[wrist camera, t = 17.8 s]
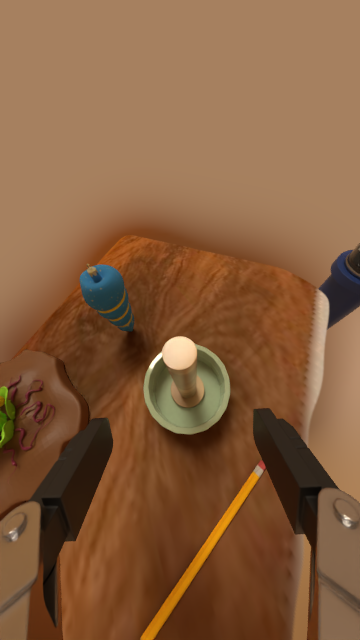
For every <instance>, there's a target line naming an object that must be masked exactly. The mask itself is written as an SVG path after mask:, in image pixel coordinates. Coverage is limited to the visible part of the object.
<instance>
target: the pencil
mask: <svg viewBox="0 0 360 640" xmlns="http://www.w3.org/2000/svg"><path fill="white" fill-rule="evenodd" d="M265 469H266V467H265V464H264V462H263V461H262V460H261V461H260V462H259V463H258V465H257V466H256V468H255V469H254V471H253V472H252V474H251V475H250V477H249V478H248V480H247V481H246V483H245V484H244V486H243V487H242V489H241V490H240V492H239V493H238V494H237V496H236V497H235V499H234V500H233V502H232V503H231V505H230V506H229V508H228V509H227V511H226V512H225V514H224V515H223V517H222V518H221V520H220V521H219V523H218V524H217V525H216V527H215V528H214V530H213V531H212V533H211V534H210V536H209V537H208V539H207V540H206V542H205V543H204V545H203V546H202V548H201V549H200V551H199V552H198V554H197V555H196V557H195V558H194V559H193V561H192V562H191V564H190V565H189V567H188V568H187V570H186V571H185V573H184V574H183V576H182V577H181V579H180V580H179V582H178V583H177V585H176V586H175V588H174V589H173V590H172V592H171V593H170V595H169V596H168V598H167V599H166V601H165V602H164V604H163V605H162V607H161V608H160V610H159V611H158V613H157V614H156V616H155V617H154V619H153V620H152V621H151V623H150V624H149V626H148V627H147V629H146V630H145V632H144V633H143V635H142V636H141V638H140V640H154V638H155V637H156V635H157V634H158V632H159V630H160V629H161V627H162V626H163V624H164V623H165V621H166V620H167V618H168V617H169V615H170V614H171V612H172V611H173V609H174V608H175V606H176V605H177V603H178V601H179V600H180V598H181V597H182V595H183V594H184V592H185V591H186V589H187V588H188V586H189V585H190V583H191V582H192V580H193V579H194V577H195V576H196V574H197V573H198V571H199V569H200V568H201V566H202V565H203V563H204V562H205V560H206V559H207V557H208V556H209V554H210V553H211V551H212V550H213V548H214V547H215V545H216V544H217V542H218V540H219V539H220V537H221V536H222V534H223V533H224V531H225V530H226V528H227V527H228V525H229V524H230V522H231V521H232V519H233V518H234V516H235V515H236V513H237V512H238V510H239V508H240V507H241V505H242V504H243V502H244V501H245V499H246V498H247V496H248V495H249V493H250V492H251V490H252V489H253V487H254V486H255V484H256V483H257V481H258V479H259V478H260V476H261V475H262V473H263V472H264V470H265Z"/></svg>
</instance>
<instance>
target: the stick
mask: <svg viewBox="0 0 360 640" xmlns="http://www.w3.org/2000/svg"><path fill="white" fill-rule="evenodd" d="M162 358H163V361H164V363H165V365H166V367H167V369H168V371H169V373H170V375H171V377H172V379H173V382H172V384H171V395H172V398H173V400H174V401H175V402H176V403H177V404H178V405H179V406H181V407H183V408H193V407H195V406H197V405H198V404H199V403H200V402H201V400H202V398H203V396H204V384H203V382H202V380H201V379H200V377H199V376H198V375H197V348H196V346H195V344H194V343H193V342H192V341H191V340H190V339H188V338H186V337H181V336H179V337H174V338H172V339H170V340H169V341H167V342H166V344H165V345H164V347H163V349H162Z"/></svg>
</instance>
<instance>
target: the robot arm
mask: <svg viewBox="0 0 360 640" xmlns="http://www.w3.org/2000/svg"><path fill="white" fill-rule="evenodd" d="M344 266H345V268H346V269H347V271H348V272H349V273H350V274H352V275H353V276H354V277H356V278H358V279H360V243H359V244H358V245H357V247H356V248H355V249H354V250H353V251H352V252H351V253H350V254H349V255H348V256H347V257H346V258H345V260H344ZM253 434H254V440H255V443H256V446H257V448H258V451H259V453H260V455H261V457H262V460H263V462H264V464H265V467H266V469H267V471H268V473H269V476H270V478H271V480H272V483H273V485H274V487H275V489H276V492H277V494H278V496H279V499H280V501H281V503H282V505H283V508H284V510H285V512H286V515H287V517H288V519H289V521H290V524H291V526H292V528H293V531H294V533H295V534H305V535H306V537H307V539H308V541H309V543H310V545H311V558H310V583H309V609H308V611H309V612H308V631H307V640H360V503H359V502H358V501H357V500H356V499H354V498H353V497H351V496H350V495H349V494H347V493H345V492H343V491H341V490H340V489H339V488H338V487H337V486H336V485H335V483H334V482H333V480H332V479H331V478H330V476H329V475H328V474H327V472H326V471H325V470H324V468H323V467H322V466H321V464H320V463H319V461H318V460H317V459H316V457H315V456H314V455H313V453H312V452H311V451H310V449H309V448H307V445H306V444H305V443H304V441H303V440H302V439H301V438H300V436H299V434H298V433H297V432H296V430H295V429H294V428H293V426H291V425H290V424H289V423H287V422H286V421H285V420H284V419H277V418H276V417H275V415H274V414H273V412H272V411H271V410H270V409H269V408H263V409H254V417H253ZM112 448H113V438H112V433H111V429H110V424H109V420H108V418H95V419H92V420H91V421H90V422H89V424H88V426H87V427H86V429H85V430H81V431H80V432H79V433H78V434H76V435H75V436H74V437H73V438H72V439H71V440H70V442H69V443H68V445H67V446H66V448H65V449H64V452H62V453H61V455H60V456H59V458H58V461H56V462H55V464H54V465H53V467H52V468H51V469H50V471H49V472H48V474H47V475H46V477H45V478H44V480H43V481H42V483H41V484H40V485H39V487H38V488H37V490H36V491H35V493H34V494H33V496H32V497H31V498H30V500H29V501H28V502H26V503H24V504H22V505H20V506H18V507H17V508H15V509H14V510H12V511H11V512H10V513H9V514H8V515H6V516H5V517H4V518H3V519H2V520H1V522H0V640H63V633H62V611H61V581H60V557H59V553H60V551H61V548H62V546H63V544H64V542H65V541H76V538H77V536H78V534H79V531H80V529H81V526H82V524H83V521H84V519H85V516H86V514H87V511H88V509H89V507H90V504H91V502H92V499H93V497H94V494H95V492H96V489H97V487H98V484H99V482H100V480H101V477H102V475H103V472H104V470H105V467H106V465H107V462H108V460H109V457H110V455H111V452H112Z"/></svg>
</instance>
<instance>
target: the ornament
mask: <svg viewBox="0 0 360 640" xmlns="http://www.w3.org/2000/svg"><path fill="white" fill-rule="evenodd" d="M88 265H89V264H88ZM87 267H88V266H87ZM80 284H81V289H82V294H83V297H84V299H85V301H86V303H87V304H88V305H89V306H90V307H92V308H93V309H96V310H97V312H98V313H99V314H100V315H101V316H102V317H104V318H107V319H108V320H109V321H110V322H111V323H112V324H114V325H116V326H117V327H118V328H119V329H120V330H123V331H130V332H131V331H133V326H134V316H133V314H132V312H131V306H130V303H129V302H128V293H127V291H126V289H125V288H124V281H123V278H122V276H121V274H120V273H119V272H118V271H117V270H116V269H115V268H113V267H111V266H108V265H96V266H93V267H91V266H90V268H89V267H88V269H87V270H86V271H84V272H83V273H82V275H81V276H80Z"/></svg>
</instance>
